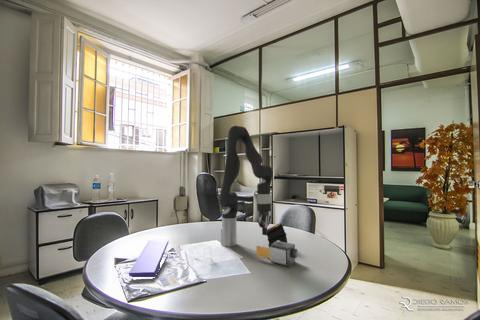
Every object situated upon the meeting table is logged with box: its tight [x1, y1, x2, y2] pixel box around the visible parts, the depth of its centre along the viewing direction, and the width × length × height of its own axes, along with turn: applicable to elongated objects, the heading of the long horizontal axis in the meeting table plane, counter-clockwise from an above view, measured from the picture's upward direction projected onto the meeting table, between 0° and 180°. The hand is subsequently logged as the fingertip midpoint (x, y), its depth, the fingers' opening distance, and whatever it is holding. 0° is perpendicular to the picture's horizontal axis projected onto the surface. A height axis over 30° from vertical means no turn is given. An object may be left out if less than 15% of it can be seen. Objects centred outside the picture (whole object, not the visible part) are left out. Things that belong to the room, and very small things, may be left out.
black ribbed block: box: [266, 222, 288, 248], centre depth 139 cm, size 4×13×15 cm, turn 91°
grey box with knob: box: [270, 241, 299, 267], centre depth 119 cm, size 12×7×10 cm, turn 53°
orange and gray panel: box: [255, 245, 291, 268], centre depth 118 cm, size 19×1×8 cm, turn 53°
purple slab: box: [128, 239, 169, 277], centre depth 115 cm, size 12×28×10 cm, turn 6°
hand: (264, 234), depth 125 cm, fingers closed
